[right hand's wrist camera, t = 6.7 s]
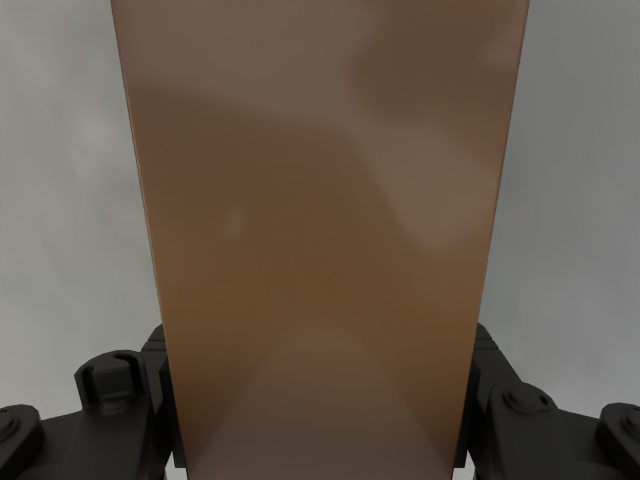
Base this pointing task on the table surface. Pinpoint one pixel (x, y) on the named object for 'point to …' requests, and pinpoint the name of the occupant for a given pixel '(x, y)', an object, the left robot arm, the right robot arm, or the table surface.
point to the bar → (319, 221)
